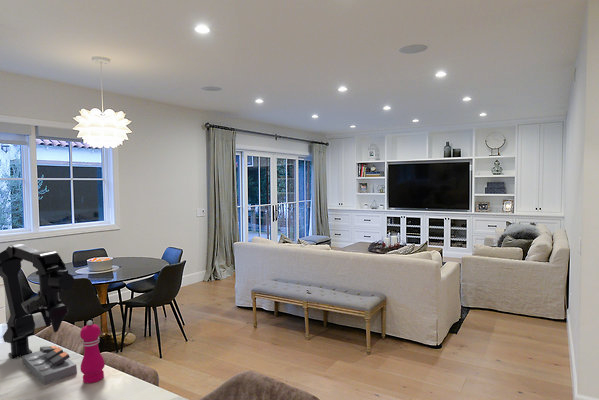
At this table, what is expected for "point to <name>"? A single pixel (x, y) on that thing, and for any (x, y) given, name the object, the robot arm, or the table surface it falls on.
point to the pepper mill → (91, 354)
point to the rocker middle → (53, 353)
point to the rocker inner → (47, 349)
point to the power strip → (47, 367)
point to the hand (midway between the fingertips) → (51, 329)
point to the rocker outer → (59, 358)
